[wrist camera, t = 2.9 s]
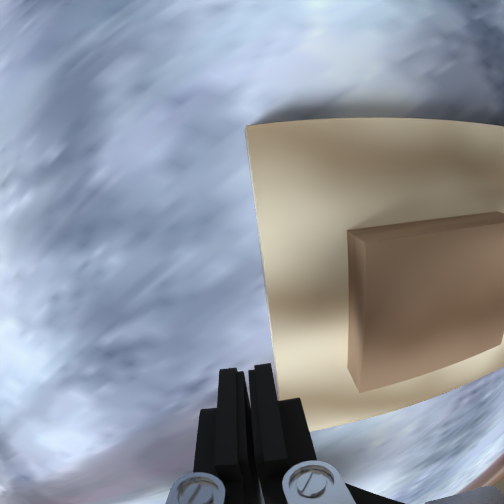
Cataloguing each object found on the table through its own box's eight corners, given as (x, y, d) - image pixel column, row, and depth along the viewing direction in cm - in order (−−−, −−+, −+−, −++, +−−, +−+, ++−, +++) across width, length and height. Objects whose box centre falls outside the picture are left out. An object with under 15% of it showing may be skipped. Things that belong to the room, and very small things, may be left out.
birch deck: (244, 130, 13) (246, 125, 11) (537, 135, 13) (557, 136, 11) (280, 412, 18) (284, 435, 16) (516, 340, 18) (530, 351, 16)
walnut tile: (346, 230, 12) (365, 243, 10) (497, 211, 12) (522, 219, 11) (347, 367, 14) (359, 393, 13) (481, 328, 15) (500, 344, 13)
